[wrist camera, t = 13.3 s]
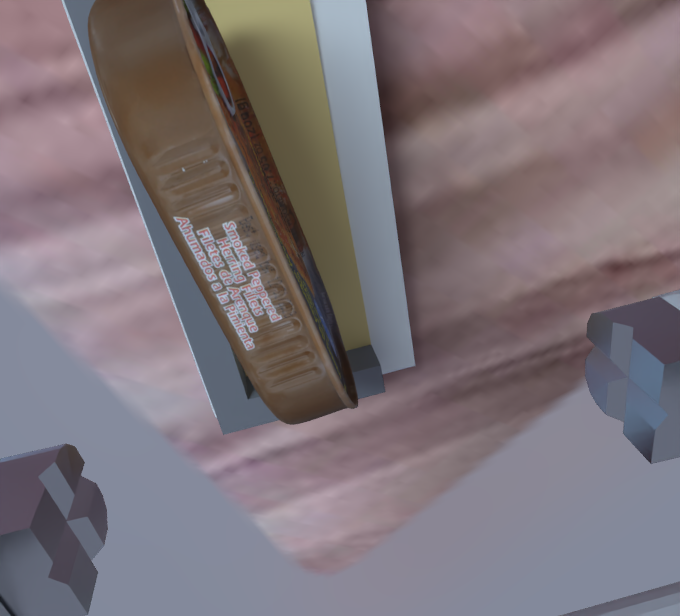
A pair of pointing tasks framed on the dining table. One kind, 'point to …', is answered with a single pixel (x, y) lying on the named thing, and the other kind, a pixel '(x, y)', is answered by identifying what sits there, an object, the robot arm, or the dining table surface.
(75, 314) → the dining table surface
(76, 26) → the dock
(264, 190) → the tin
